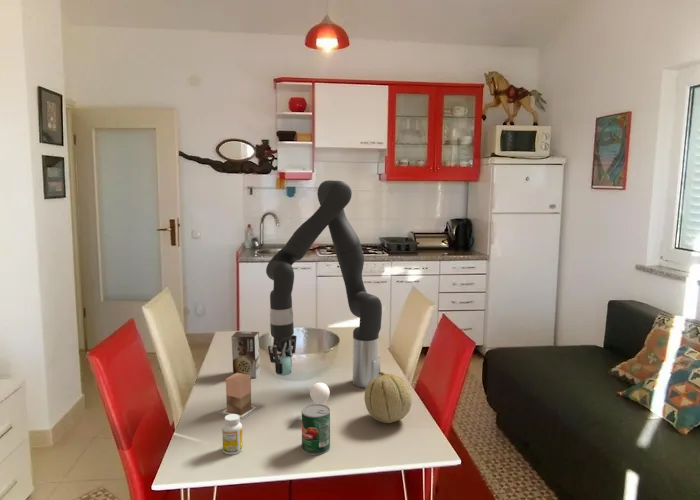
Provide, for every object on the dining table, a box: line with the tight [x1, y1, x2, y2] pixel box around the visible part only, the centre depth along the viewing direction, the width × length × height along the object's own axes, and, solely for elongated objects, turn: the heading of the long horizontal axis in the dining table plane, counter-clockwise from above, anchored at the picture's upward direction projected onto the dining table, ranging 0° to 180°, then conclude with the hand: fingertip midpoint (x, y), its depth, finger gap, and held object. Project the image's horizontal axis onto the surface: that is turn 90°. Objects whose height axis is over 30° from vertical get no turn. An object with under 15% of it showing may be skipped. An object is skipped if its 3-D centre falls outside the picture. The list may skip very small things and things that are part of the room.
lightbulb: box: [309, 382, 330, 406], centre depth 163 cm, size 6×6×11 cm
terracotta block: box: [225, 373, 252, 398], centre depth 166 cm, size 6×6×6 cm
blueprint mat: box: [216, 404, 261, 420], centre depth 167 cm, size 10×10×1 cm
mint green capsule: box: [275, 355, 292, 377], centre depth 172 cm, size 5×5×5 cm
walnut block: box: [225, 391, 252, 415], centre depth 167 cm, size 6×6×6 cm
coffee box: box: [231, 330, 261, 379], centre depth 197 cm, size 9×6×16 cm
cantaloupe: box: [364, 371, 413, 424], centre depth 160 cm, size 15×15×15 cm
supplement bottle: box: [221, 414, 244, 456], centre depth 143 cm, size 5×5×10 cm
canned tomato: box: [301, 403, 331, 456], centre depth 144 cm, size 8×8×11 cm
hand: (283, 370), depth 173 cm, fingers closed on mint green capsule, 5 cm apart
